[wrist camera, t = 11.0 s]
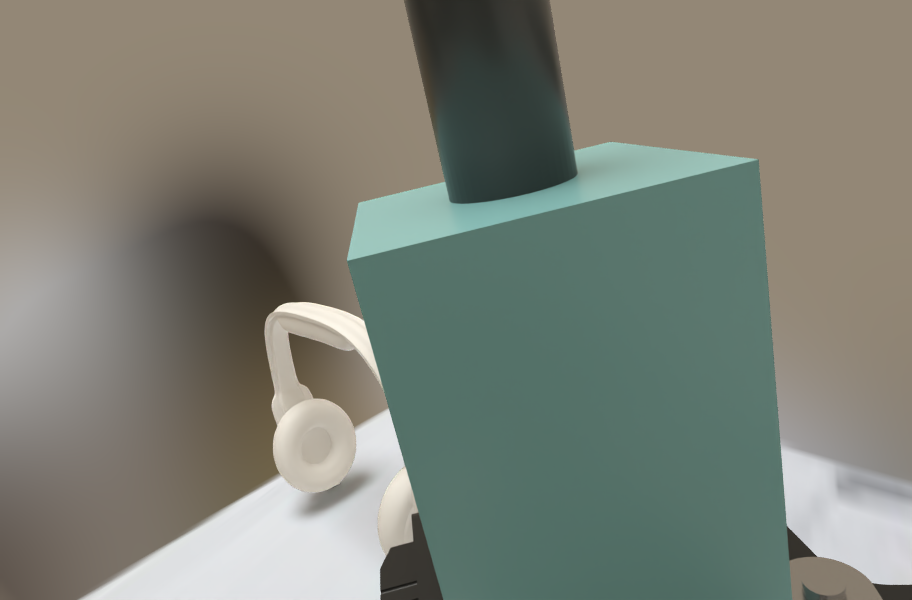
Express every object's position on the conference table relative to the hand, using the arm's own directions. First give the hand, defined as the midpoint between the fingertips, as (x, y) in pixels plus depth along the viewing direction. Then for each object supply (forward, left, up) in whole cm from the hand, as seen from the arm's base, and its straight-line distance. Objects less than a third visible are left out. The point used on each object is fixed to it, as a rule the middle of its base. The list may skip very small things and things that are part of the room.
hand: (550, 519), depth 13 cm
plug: (+3, -1, -9) cm, 9 cm away
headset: (-30, +5, -21) cm, 36 cm away
